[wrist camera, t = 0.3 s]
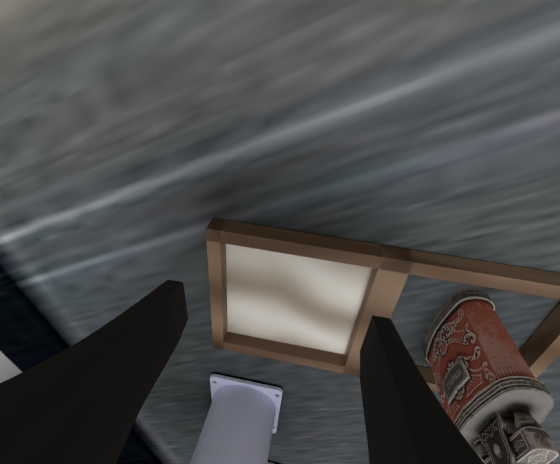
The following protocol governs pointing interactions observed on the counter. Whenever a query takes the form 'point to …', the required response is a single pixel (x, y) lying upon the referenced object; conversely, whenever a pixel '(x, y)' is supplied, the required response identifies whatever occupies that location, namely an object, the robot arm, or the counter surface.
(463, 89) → the counter surface
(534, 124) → the counter surface
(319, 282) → the tray
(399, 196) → the counter surface
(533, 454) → the lighter
